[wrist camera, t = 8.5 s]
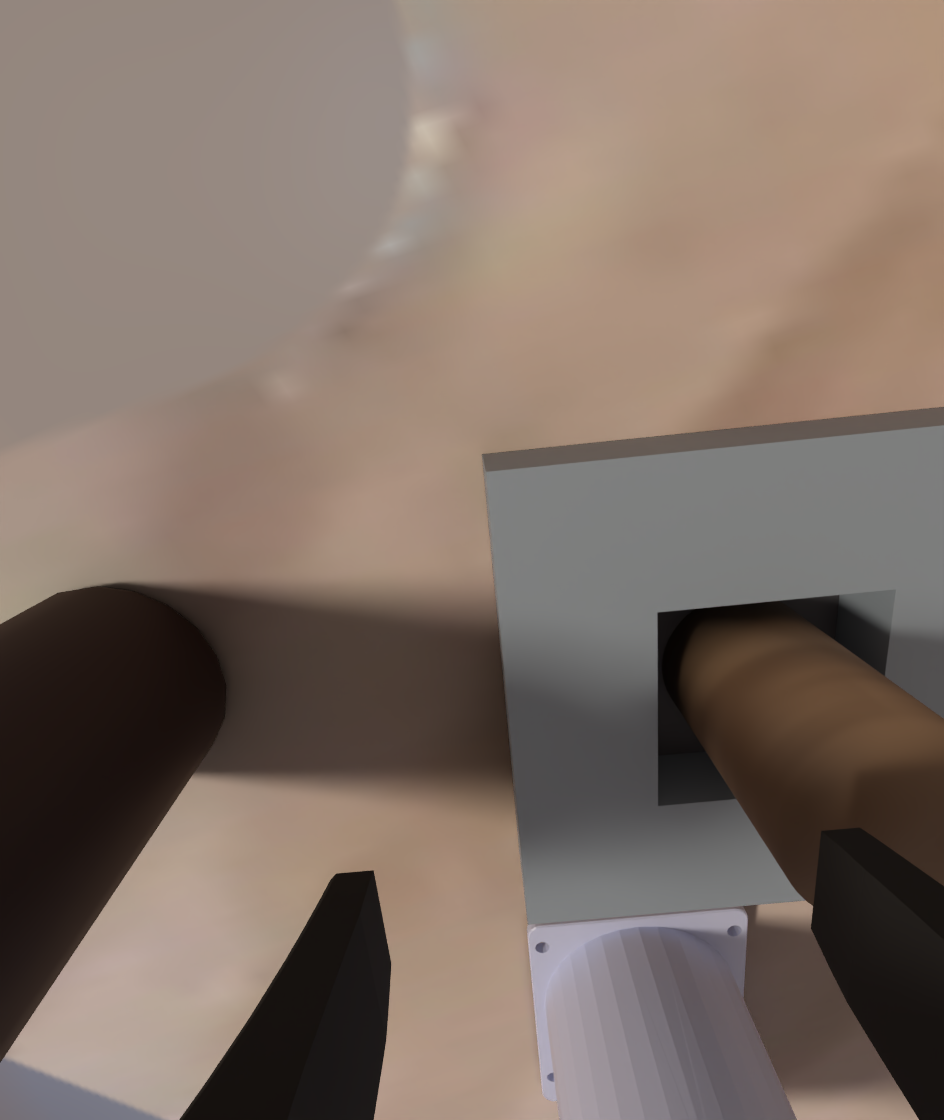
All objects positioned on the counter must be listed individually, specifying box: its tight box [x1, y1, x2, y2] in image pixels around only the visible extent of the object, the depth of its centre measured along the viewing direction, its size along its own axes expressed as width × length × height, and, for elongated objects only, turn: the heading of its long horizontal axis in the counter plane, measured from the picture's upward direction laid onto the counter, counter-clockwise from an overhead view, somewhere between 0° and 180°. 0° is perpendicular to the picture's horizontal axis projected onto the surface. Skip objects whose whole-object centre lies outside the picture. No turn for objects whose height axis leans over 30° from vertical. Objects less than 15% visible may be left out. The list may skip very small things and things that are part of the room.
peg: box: [662, 601, 944, 905], centre depth 15 cm, size 4×4×7 cm
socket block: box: [482, 407, 944, 925], centre depth 17 cm, size 14×14×3 cm
